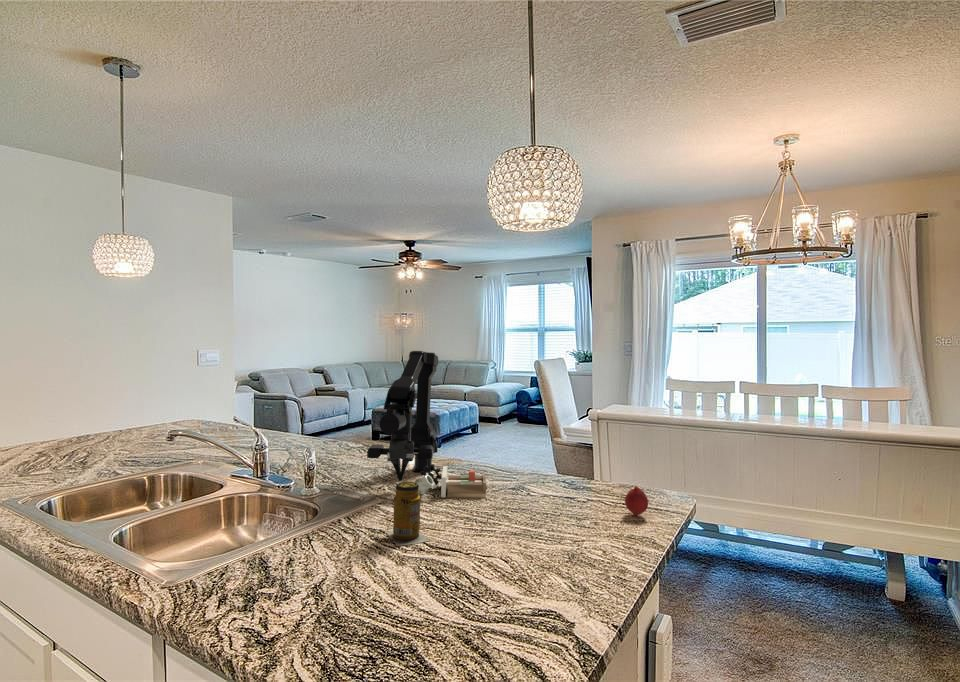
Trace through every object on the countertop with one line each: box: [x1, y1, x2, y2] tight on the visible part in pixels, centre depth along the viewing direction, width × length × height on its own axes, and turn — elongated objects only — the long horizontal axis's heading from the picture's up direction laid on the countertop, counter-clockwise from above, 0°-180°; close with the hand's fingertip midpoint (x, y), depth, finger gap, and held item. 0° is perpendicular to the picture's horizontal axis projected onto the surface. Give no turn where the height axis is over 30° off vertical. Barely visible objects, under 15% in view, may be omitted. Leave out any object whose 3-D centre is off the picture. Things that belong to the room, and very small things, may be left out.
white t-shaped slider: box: [440, 465, 482, 498], centre depth 151 cm, size 12×12×6 cm
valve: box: [414, 463, 442, 496], centre depth 148 cm, size 7×7×12 cm
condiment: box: [386, 480, 429, 547], centre depth 117 cm, size 7×8×12 cm
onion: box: [624, 484, 649, 516], centre depth 134 cm, size 6×6×8 cm
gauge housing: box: [446, 473, 487, 499], centre depth 151 cm, size 10×11×4 cm
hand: (400, 480), depth 150 cm, fingers closed
